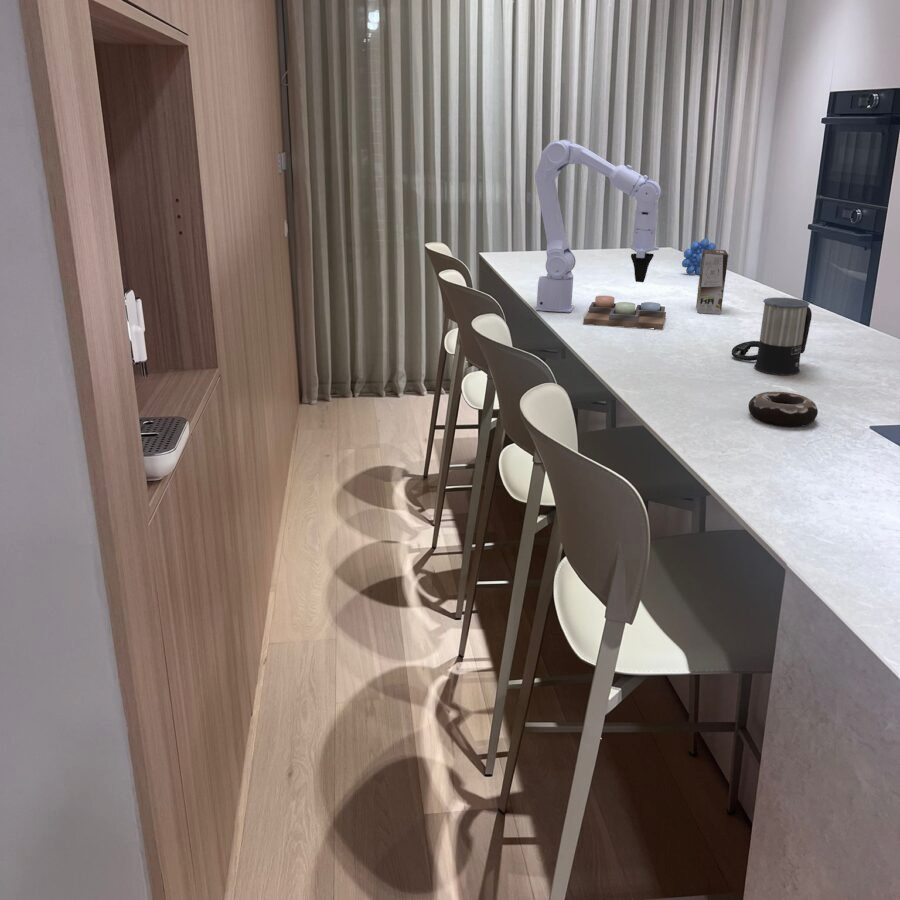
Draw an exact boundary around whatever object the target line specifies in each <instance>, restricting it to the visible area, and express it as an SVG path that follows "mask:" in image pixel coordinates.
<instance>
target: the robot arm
mask: <svg viewBox="0 0 900 900" xmlns="http://www.w3.org/2000/svg"><path fill="white" fill-rule="evenodd" d="M579 164H580V165H584V166H586V167H587V168H590V169H591V170H593V171H595V172H598V173H599V174H601V175H602V176H605V177H607V178H608V179H609V182H610V185H611V186H612V187H614V188H615V189H617V190H619V191H621V192H623V193H625V194H626V195H628V196H629V197H631V198H633V197H635V201H636V209H635V213H634V221H633V222H634V223H633V232H632V245H631V247H630V249H631V250H632V251H634V252H635V253H631V254H630V259H631V261H632V265H633V269H634V272H633V273H634V279H635V282H636V283H644V282H645V280H646V276H647V272H648V269H649V265H650V263H651V261H652V260H653V258H654V253H651V252H655V251H659V250H660V248H659V246H656V245H655V242H656V236H657V235H656V234H657V233H656V232H657V226H658V216H659V211H658V209H659V199H660V198H661V195H662V187H661V186H660V184H659V183H658V182H656V180H655V179H648V178H649V176H648V175H646V174H644V175H642V174H640V173H639V172H637V171H635V170H633V166H632V165H630V164H626V165H624V164H620V165H614V164H612V163H610V162H609V161H608V160H606V159H604V158H602V157H601V156H599V155H598V154H597V153H595V152H593V151H591V150H590V149H588V148H586V147H585V146H582V145H581V144H578V143H575V142H574V143H573V142H572V141H570V140H569V139H560V140H552V141H551V142H549V143H548V144H547V145H546V146H545V148H544V149H543V150H542V151H541V155H540V160H539V163H538V166H537V168H536V171H535V175H534V179H535V185H536V189H537V194H538V200H539V206H540V211H541V217H542V221H543V222H542V223H543V226H544V231H545V238H546V242H547V244H546V245H547V246H546V250H545V253H546V261H545V270H546V275H545V276H544V275H541V276H539V277H538V281H537V291H536V292H537V293H536V295H537V297H536V309H535V310H536V311H540V312H541V311H543V312H557V313H558V312H559V313H571V312H572V311H573V310H574V309H575V305H573V304H572V303H573V302H572V301H573V287H574V275H573V272H572V270H573V269H574V268H575V266H576V263H577V262H576V256H575V254H574V253H573V252H572V251H571V247H570V243H569V242H568V239H567V238H566V231H565V225H564V222H563V221H564V220H563V216H562V210H561V205H560V199H559V194H558V188H557V184H556V183H557V182H556V178H558V176H559V175H560V173H561V172H562V170H563V169H564V168H565V167H566V166H568V165H579Z"/></svg>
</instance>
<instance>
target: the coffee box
mask: <svg viewBox="0 0 900 900" xmlns="http://www.w3.org/2000/svg"><path fill="white" fill-rule="evenodd" d="M728 260H729V253H728V252H727V251H726V249H724V250H723V249H715V250H702V257H701V266H700V275H698V276H699V277H698V286H697V295H696V311H697V313H698V314H711V315H713V314H714V315H721V314H722V309H723V308H722V307H723V298H724V293H725V284H726V283H725V282H726V276H727V268H728V262H729V261H728Z"/></svg>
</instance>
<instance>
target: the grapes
mask: <svg viewBox="0 0 900 900" xmlns="http://www.w3.org/2000/svg"><path fill="white" fill-rule="evenodd" d="M716 245H717V244H716V243H715V242H710V241H709V239H708V238H703V239H701V240H700V241H698V240H694V241H693V242H692V243H691V244H690V248H687V249H686V250H684V252H683V258H684V259H682V262H681V266H682V267H683V268H686V269H685V271H686V272H685V273H686V274H688V275H692V274H695V275H697V276H699V275H700V266H701V257H702V250H716Z"/></svg>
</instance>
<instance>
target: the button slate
mask: <svg viewBox="0 0 900 900" xmlns="http://www.w3.org/2000/svg"><path fill="white" fill-rule="evenodd" d="M640 305H641V310H650V311H660V306H661V304H660V303H659V302H654V301H653V302H651V301H646V302H645V301H644V302H641V303H640Z"/></svg>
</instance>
